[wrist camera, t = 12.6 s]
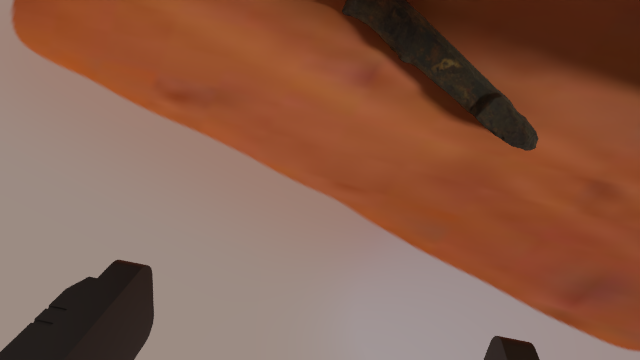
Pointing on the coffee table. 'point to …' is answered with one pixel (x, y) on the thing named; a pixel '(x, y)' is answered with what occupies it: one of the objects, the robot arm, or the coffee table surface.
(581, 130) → the coffee table surface
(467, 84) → the hand tool
